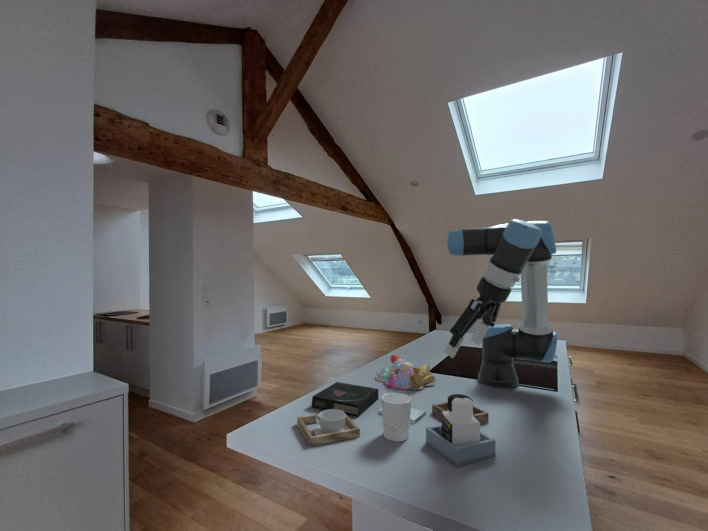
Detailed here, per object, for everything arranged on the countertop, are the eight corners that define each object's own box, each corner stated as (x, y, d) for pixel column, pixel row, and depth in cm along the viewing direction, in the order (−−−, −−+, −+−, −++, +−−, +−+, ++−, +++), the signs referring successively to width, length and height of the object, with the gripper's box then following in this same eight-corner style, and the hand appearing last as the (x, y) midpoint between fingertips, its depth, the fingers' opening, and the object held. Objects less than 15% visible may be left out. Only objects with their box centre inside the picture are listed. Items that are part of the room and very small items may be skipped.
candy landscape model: (443, 379, 139) (443, 357, 139) (423, 396, 119) (423, 370, 120) (389, 369, 153) (389, 349, 153) (363, 383, 133) (363, 360, 133)
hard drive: (426, 411, 102) (390, 401, 110) (414, 420, 96) (378, 409, 103) (426, 416, 102) (390, 406, 110) (414, 426, 96) (377, 414, 103)
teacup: (355, 427, 94) (355, 410, 94) (341, 443, 84) (341, 425, 85) (323, 421, 97) (323, 405, 97) (306, 436, 88) (307, 418, 88)
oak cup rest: (341, 416, 100) (341, 409, 100) (359, 436, 88) (359, 428, 88) (297, 424, 95) (297, 416, 95) (310, 446, 82) (310, 438, 82)
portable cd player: (311, 409, 107) (311, 396, 107) (336, 392, 122) (337, 381, 122) (357, 419, 99) (357, 406, 100) (378, 400, 115) (378, 388, 115)
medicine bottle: (441, 438, 85) (441, 391, 86) (467, 438, 86) (467, 391, 86) (451, 453, 78) (451, 402, 79) (480, 452, 79) (480, 401, 79)
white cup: (410, 444, 84) (410, 404, 84) (379, 441, 85) (379, 402, 86) (411, 430, 92) (411, 394, 92) (383, 427, 93) (383, 391, 93)
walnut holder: (461, 407, 108) (461, 399, 108) (488, 421, 98) (488, 413, 98) (432, 412, 104) (432, 404, 104) (457, 428, 93) (457, 419, 93)
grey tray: (461, 434, 89) (461, 420, 90) (495, 456, 79) (495, 440, 79) (426, 442, 85) (426, 427, 85) (456, 466, 74) (456, 449, 74)
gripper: (486, 297, 71) (448, 370, 79) (531, 283, 88) (495, 345, 96) (458, 279, 75) (425, 350, 84) (505, 269, 92) (473, 330, 101)
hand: (462, 348), depth 90 cm, fingers open, 13 cm apart
